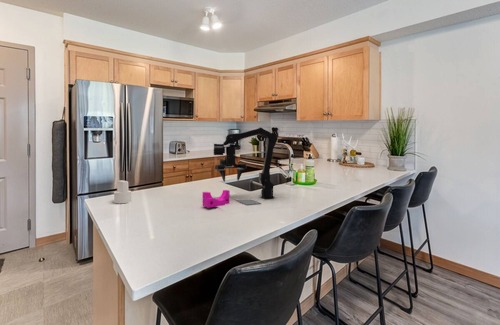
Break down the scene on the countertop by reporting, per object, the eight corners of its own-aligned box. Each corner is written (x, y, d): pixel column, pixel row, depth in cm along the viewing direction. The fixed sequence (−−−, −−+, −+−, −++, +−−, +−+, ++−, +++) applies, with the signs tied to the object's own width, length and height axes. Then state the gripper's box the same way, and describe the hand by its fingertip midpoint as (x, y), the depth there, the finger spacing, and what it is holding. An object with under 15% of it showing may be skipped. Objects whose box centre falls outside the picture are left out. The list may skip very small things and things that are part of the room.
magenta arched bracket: (208, 207, 139) (208, 193, 139) (202, 205, 144) (202, 192, 143) (232, 204, 148) (232, 191, 148) (225, 202, 153) (225, 189, 153)
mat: (246, 199, 165) (246, 198, 165) (261, 204, 149) (261, 202, 149) (233, 200, 160) (233, 199, 160) (246, 205, 144) (246, 204, 144)
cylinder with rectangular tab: (134, 201, 153) (133, 181, 153) (117, 204, 146) (117, 182, 146) (127, 200, 159) (127, 180, 159) (111, 201, 153) (111, 181, 152)
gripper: (238, 154, 171) (238, 179, 171) (211, 155, 162) (211, 180, 162) (246, 154, 161) (247, 180, 162) (218, 155, 152) (218, 182, 153)
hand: (231, 181), depth 160 cm, fingers open, 9 cm apart
